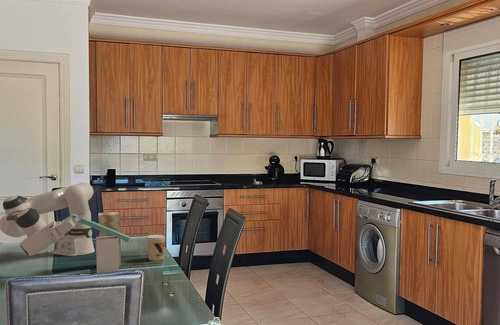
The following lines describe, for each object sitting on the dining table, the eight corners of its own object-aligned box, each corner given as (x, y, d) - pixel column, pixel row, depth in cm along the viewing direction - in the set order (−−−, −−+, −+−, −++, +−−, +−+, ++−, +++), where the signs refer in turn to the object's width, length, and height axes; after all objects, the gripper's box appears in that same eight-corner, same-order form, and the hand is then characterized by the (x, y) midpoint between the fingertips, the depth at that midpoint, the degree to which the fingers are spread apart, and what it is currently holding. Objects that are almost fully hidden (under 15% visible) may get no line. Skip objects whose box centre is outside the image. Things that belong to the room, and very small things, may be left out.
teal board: (71, 219, 207) (73, 215, 207) (71, 217, 211) (73, 213, 211) (127, 242, 215) (129, 238, 215) (127, 240, 219) (129, 236, 219)
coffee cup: (156, 261, 231) (156, 238, 231) (143, 259, 236) (142, 236, 236) (168, 258, 239) (168, 235, 238) (155, 255, 244) (155, 233, 243)
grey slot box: (96, 273, 210) (96, 240, 209) (97, 270, 217) (96, 237, 216) (119, 271, 213) (118, 238, 212) (118, 268, 220) (118, 235, 219)
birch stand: (99, 268, 220) (98, 215, 219) (99, 264, 228) (98, 213, 227) (120, 266, 223) (119, 214, 222) (120, 262, 231) (119, 211, 230)
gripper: (62, 232, 217) (88, 216, 221) (57, 240, 198) (86, 223, 201) (54, 221, 216) (81, 206, 220) (49, 228, 197) (78, 211, 200)
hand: (83, 214), depth 210 cm, fingers closed on teal board, 4 cm apart
